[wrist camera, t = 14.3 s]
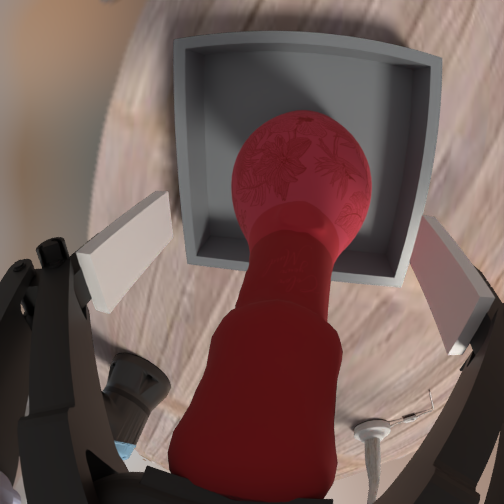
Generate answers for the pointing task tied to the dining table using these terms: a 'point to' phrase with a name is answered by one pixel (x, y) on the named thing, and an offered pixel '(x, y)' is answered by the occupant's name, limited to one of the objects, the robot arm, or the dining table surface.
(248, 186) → the wine bottle
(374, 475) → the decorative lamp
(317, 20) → the dining table surface
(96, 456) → the robot arm
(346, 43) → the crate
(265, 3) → the dining table surface
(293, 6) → the dining table surface
